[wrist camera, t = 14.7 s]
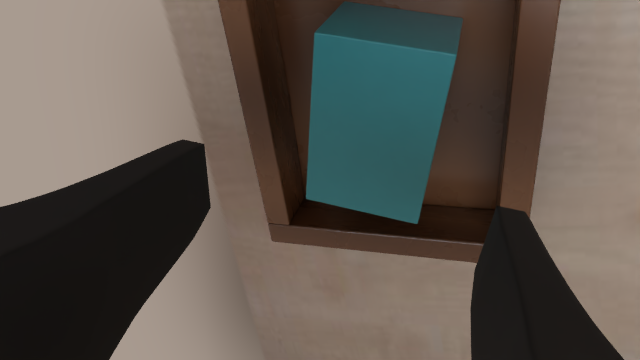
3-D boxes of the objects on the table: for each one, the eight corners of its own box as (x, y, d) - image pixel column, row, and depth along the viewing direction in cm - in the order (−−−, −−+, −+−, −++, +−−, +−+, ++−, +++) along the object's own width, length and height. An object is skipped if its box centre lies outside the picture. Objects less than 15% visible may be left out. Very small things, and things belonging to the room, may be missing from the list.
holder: (519, 221, 20) (522, 268, 18) (292, 203, 23) (271, 242, 21) (563, -118, 14) (576, -110, 11) (240, -81, 17) (201, -69, 14)
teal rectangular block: (331, 150, 20) (305, 199, 17) (343, 0, 16) (313, 32, 14) (428, 170, 19) (417, 224, 16) (463, 17, 16) (457, 54, 13)
